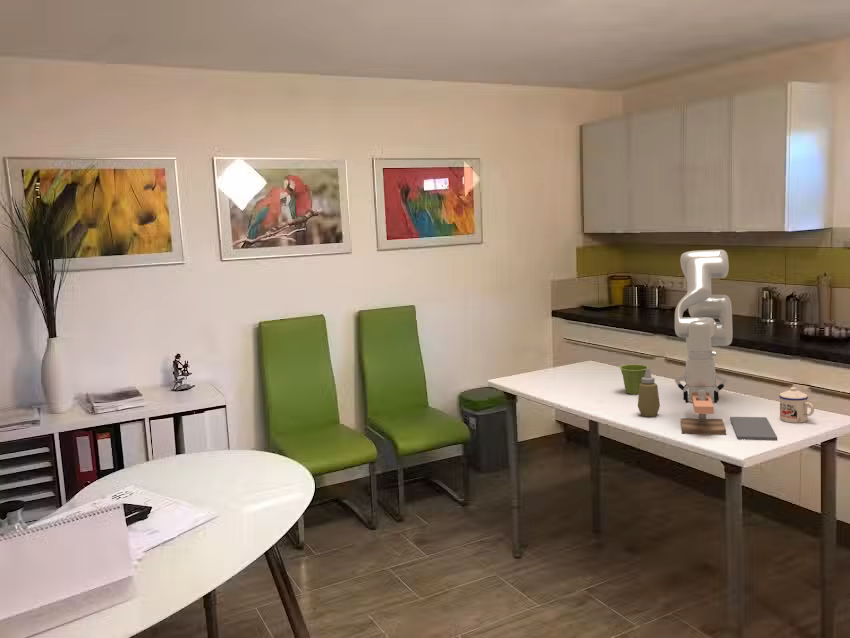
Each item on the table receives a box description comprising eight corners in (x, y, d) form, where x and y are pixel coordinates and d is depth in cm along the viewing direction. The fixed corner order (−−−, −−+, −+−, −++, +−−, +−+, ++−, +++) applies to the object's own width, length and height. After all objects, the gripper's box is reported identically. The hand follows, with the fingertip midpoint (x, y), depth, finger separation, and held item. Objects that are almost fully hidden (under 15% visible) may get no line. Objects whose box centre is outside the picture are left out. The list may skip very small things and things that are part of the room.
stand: (680, 422, 258) (679, 386, 256) (722, 423, 254) (721, 386, 252) (682, 433, 245) (681, 395, 243) (726, 434, 240) (725, 395, 239)
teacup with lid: (773, 419, 254) (773, 387, 252) (789, 414, 258) (789, 383, 256) (805, 426, 243) (805, 393, 242) (821, 421, 248) (821, 389, 246)
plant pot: (620, 396, 300) (620, 370, 299) (620, 389, 312) (619, 364, 310) (650, 396, 298) (649, 369, 296) (648, 389, 309) (647, 364, 307)
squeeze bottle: (661, 417, 265) (660, 370, 263) (639, 418, 267) (637, 371, 264) (658, 412, 273) (657, 366, 271) (637, 412, 275) (635, 366, 272)
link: (691, 398, 258) (691, 392, 258) (709, 399, 257) (709, 392, 256) (694, 413, 240) (694, 406, 239) (713, 413, 238) (713, 406, 237)
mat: (729, 419, 257) (729, 416, 257) (766, 419, 254) (766, 417, 254) (737, 439, 235) (737, 436, 235) (777, 440, 231) (777, 437, 231)
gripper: (725, 353, 253) (725, 399, 256) (674, 353, 259) (675, 399, 261) (727, 357, 246) (728, 405, 249) (674, 357, 252) (675, 404, 254)
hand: (700, 402), depth 255 cm, fingers open, 9 cm apart
